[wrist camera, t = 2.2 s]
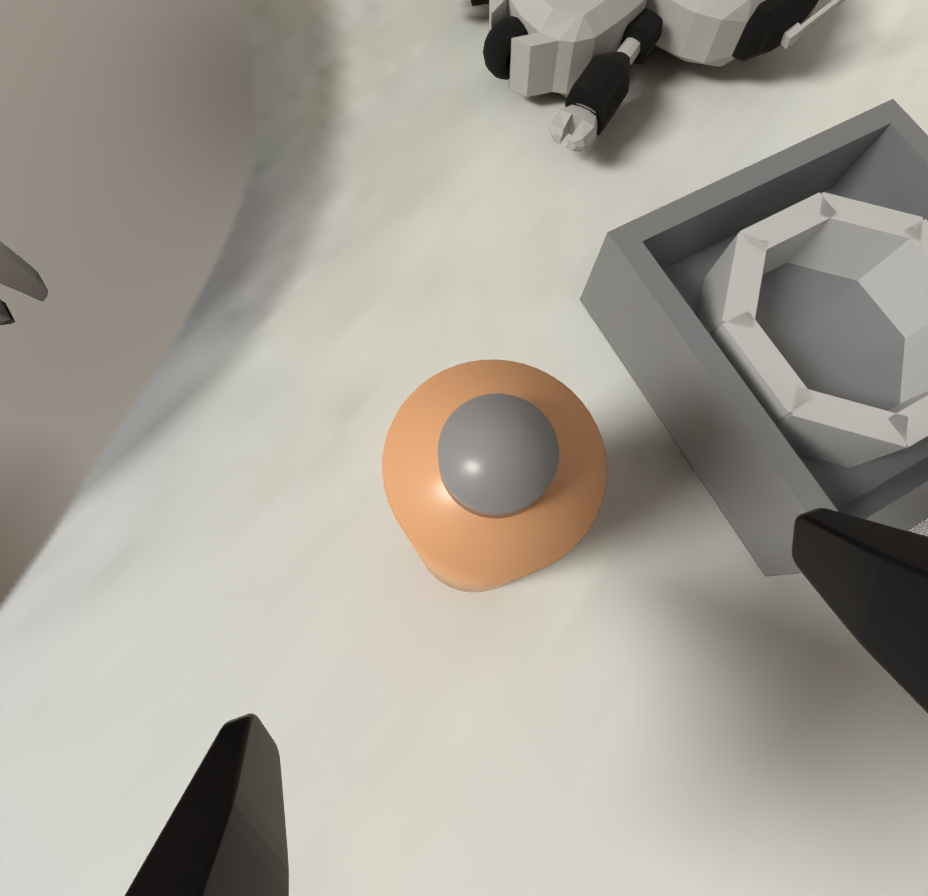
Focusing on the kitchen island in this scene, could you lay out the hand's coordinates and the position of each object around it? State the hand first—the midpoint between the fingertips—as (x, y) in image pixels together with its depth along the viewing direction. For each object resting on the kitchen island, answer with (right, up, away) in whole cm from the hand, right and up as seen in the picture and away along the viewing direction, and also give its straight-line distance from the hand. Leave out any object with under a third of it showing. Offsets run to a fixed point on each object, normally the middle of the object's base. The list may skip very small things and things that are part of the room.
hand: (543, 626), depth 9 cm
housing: (+11, +6, +12) cm, 18 cm away
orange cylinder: (-1, 0, +10) cm, 10 cm away
